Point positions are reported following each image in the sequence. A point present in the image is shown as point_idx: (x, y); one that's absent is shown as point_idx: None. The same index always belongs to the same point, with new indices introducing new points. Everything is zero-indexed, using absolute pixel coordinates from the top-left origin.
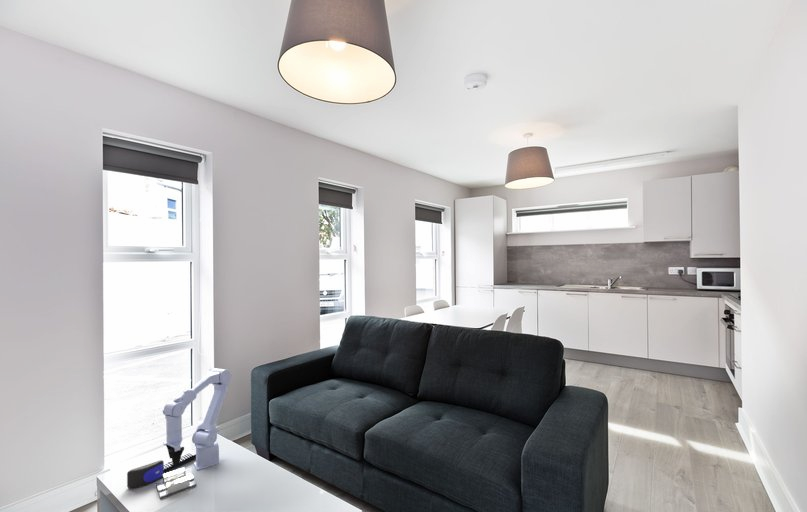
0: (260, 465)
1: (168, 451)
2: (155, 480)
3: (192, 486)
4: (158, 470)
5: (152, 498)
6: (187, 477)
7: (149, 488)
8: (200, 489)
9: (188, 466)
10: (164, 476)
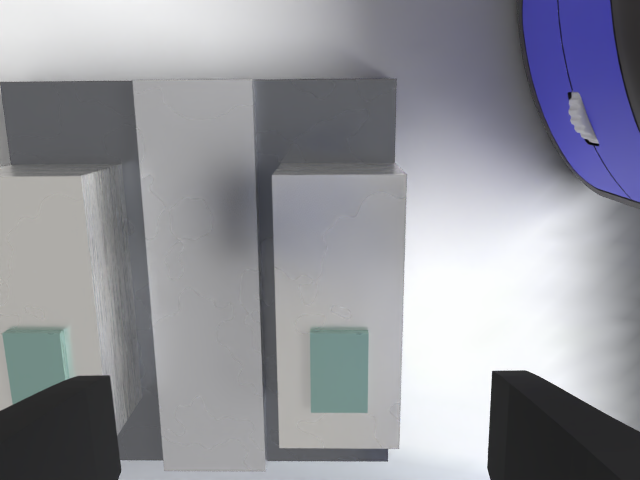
0: None
1: (584, 446)
2: (530, 88)
3: None
4: (596, 133)
5: (133, 10)
6: None
7: (410, 4)
8: None
9: None
10: (307, 184)
